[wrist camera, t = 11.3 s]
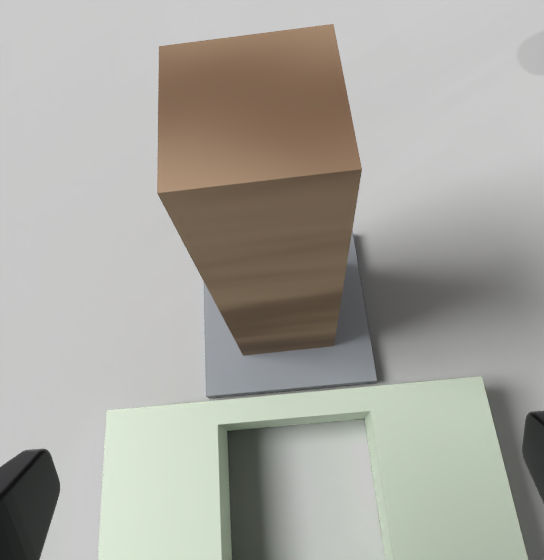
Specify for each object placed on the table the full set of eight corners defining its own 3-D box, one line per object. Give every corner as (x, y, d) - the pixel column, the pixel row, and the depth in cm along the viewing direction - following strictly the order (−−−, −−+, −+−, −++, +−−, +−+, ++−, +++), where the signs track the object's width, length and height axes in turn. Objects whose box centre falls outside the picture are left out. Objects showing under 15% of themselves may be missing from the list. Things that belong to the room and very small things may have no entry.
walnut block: (333, 346, 23) (361, 169, 10) (242, 355, 23) (157, 193, 10) (322, 263, 25) (333, 24, 12) (237, 273, 25) (159, 46, 12)
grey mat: (375, 383, 23) (376, 380, 22) (208, 398, 23) (206, 396, 22) (351, 235, 26) (352, 229, 25) (205, 250, 26) (202, 245, 26)
